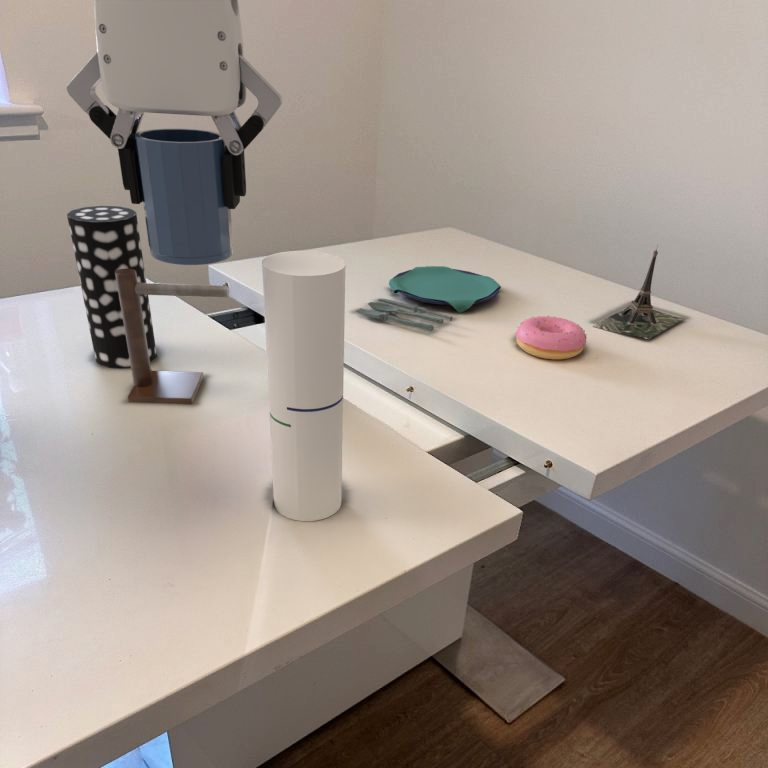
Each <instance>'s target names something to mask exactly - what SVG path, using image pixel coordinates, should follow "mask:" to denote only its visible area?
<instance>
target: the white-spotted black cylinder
mask: <svg viewBox="0 0 768 768" xmlns="http://www.w3.org/2000/svg"><path fill="white" fill-rule="evenodd" d="M66 218H67V223H68V227H69V233H70V238H71V242H72V247H73V252H74V257H75V263H76V267H77V273H78V278H79V283H80V289H81V293H82V298H83V303H84V308H85V313H86V318H87V323H88V329H89V334H90V338H91V344H92V349H93V354H94V359H95V362H96V363H97V364H98V365H100V366H102V367H104V368H110V369H121V370H123V369H124V370H125V369H131V364H130V358H129V352H128V346H127V341H126V335H125V329H124V323H123V317H122V311H121V305H120V299H119V293H118V288H117V282H116V276H115V271H116V270H119V269H134V270H135V271H136V274H137V281H138V282H140V283H147V277H146V270H145V263H144V256H143V249H142V243H141V236H140V229H139V222H138V221H139V220H138V214H137V211H136V210H134V209H132V208H130V207H125V206H117V205H94V206H85V207H79V208H75V209H72V210H70V211H68V212H67V213H66ZM140 301H141V307H142V314H143V320H144V327H145V333H146V340H147V346H148V353H149V359H150V363H152V362H153V361H154V360H156V358H157V355H158V352H157V346H156V340H155V333H154V327H153V325H154V324H153V320H152V312H151V311H152V310H151V306H150V305H151V304H150V299H149V295H140Z"/></svg>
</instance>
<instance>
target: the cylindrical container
mask: <svg viewBox="0 0 768 768" xmlns="http://www.w3.org/2000/svg"><path fill="white" fill-rule="evenodd" d="M261 272H262V291H263V311H264V313H263V314H264V331H265V352H266V373H267V393H268V394H267V395H268V411H269V412H268V415H269V416H268V417H269V433H270V434H269V435H270V451H271V454H270V455H271V472H272V473H271V474H272V493H273V494H272V495H273V506H274V509H275V510H276V511H277V512H278V513H279V514H280V515H281V516H283V517H285V518H287V519H290V520H293V521H297V522H315V521H321V520H324V519H327V518H329V517H332V516H333V515H334V514H336V513H337V512H338V511H339V510H340V508H341V506H342V492H343V489H342V488H343V434H344V432H343V430H344V429H343V428H344V378H345V377H344V373H345V372H344V371H345V370H344V369H345V317H346V316H345V315H346V262H345V260H344V259H343V258H341V257H339V256H337V255H335V254H331V253H327V252H321V251H316V250H315V251H314V250H313V251H312V250H289V251H281V252H275V253H273V254H269V255H267V256H265V257H264V258H263V259H262V261H261Z"/></svg>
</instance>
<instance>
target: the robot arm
mask: <svg viewBox="0 0 768 768" xmlns="http://www.w3.org/2000/svg"><path fill="white" fill-rule="evenodd" d="M239 7H240V6H239V0H93V9H94V10H93V12H94V13H93V14H94V26H95V27H94V28H95V39H96V40H95V41H96V52H95V53H94V54H93V56H92V57H90V59H89V60H88V61H87V62H86V63H85V64H84V65H83V67H82V68H81V69H80V70H79V71H78V72H77V74H76V75H74V77H73V78H72V79H71V80H70V81H69V82H68V83H67V86H66V92H67V94H68V95H69V97H71V99H72V100H74V102H75V103H76V104H77V105H78V106H79V107H80V108H81V110H82V111H83V112H84V113H86V114H87V115H88V117H89V120H90V121H91V122H92V123H93V124H94V125H95V126H96V127H97V128H98V129H99V130H100V131H101V132H102V133H103V134H104V135H105V136H106V137H107V138H108V139H109V140H110V143H111V145H112V146H113V147H114V148H115V149H117V151H118V160H119V166H120V173H121V181H122V185H123V189H124V190H125V191H129V197H130V202H131V204H132V205H140V204H141V203H143V197H142V190H141V182H140V175H139V167H138V160H137V152H136V145H135V138H134V134H136V133H138V132H139V131H140V127H141V124H142V121H143V118H144V114H145V113H149V114H150V113H151V114H166V115H167V114H168V115H181V116H182V115H184V116H201V117H203V116H204V117H211V119H212V121H213V123H214V125H215V127H216V129H217V131H218V133H220V134H221V136H222V138H223V140H224V142H225V144H226V145H225V154H224V155H223V156H222V171H223V184H224V198H225V207H228V209H231V210H236V208H237V207H238V205H239V204H240V202H241V197H245V196H246V194H247V178H246V175H247V174H246V160H245V150H246V149H247V147H249V146H250V144H251V143H252V142H253V141H254V140H255V139H256V138H257V137H258V135H259V134H260V133H261V132H262V131H263V130H264V128H265V127H266V126H267V124H268V123H269V122H270V120H272V118H273V117H274V115H275V114H276V113H277V112H278V111H279V109H280V108H281V106H282V104H283V101H284V100H283V96H282V95H281V94H280V92H279V91H277V90H276V88H275V87H273V85H272V84H271V83H270V82H269V81H267V79H266V78H265V77H264V76H263V75H262V74H261V73H260V72H259V71H258V70H257V69H256V68H255V67H254V66H253V65H252V64H251V63H250V62H249V61H248V60H247V59H246V58H245V52H244V42H243V34H242V33H243V30H242V22H241V13H240V8H239ZM100 83H101V86H102V91H103V94H104V97H105V99H106V100H107V102H108V103H109V104H111V105H112V106H113V107H116V108H117V109H118V110H117V113H115V112H113V110H112V109H110V108H111V107H109V106H107V105H106V104H104V102H102V100H101V98H100V97H99V96H98V94H97V92H96V88H97V86H98V85H99V84H100ZM247 90H248V91H250V93H251V94H252V95H253V96H254V97H255V98H256V99H257V102H258V103H257V107H256V108H255V109H254V111H253V113H252V114H251V115H250V116H249V117H248V119H247V120H246V121H245V122H244V123H243V124H241V122H240V120H239V118H238V116H237V113H236V112H235V111H236V110H237V109H238V108H240V107H242V106H243V105H244V104H245V102H246V100H247Z"/></svg>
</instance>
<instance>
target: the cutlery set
mask: <svg viewBox="0 0 768 768" xmlns="http://www.w3.org/2000/svg"><path fill="white" fill-rule="evenodd" d="M388 286H389V287H390V288H391V290H392V291H393V293H394V294H398V293H399V294H401V295H402V296H405V297H407V298H408V299H412V300H415V301H418V302H422V303H428V304H432V305H442V306H452V307H453V308H454V310H455V311H456V312H457V313H458V314H461V313H464V312H466V311H467V310H468V309H470V308H472V306H473V305H474V304H475V305H476V304H481V303H484V302H487V301H490V300H493V299H495V298H496V296H497V295H498V294H499V293H500V290H501V289H502V286H501V285H500V284H499V283H498V282H497V281H496V280H495V279H494V278H492V277H490V276H489V275H483V274H480V273H475V272H472V271H468V270H462V269H456V268H452V267H449V266H445V265H444V266H443V265H441V266H440V265H437V266H436V265H427V266H415V267H414V268H412V269H408V270H405V271H402V272H399V273H397V274H396V275H395V276H393V277H392V278H390V279H389V281H388ZM377 300H378V301H377V302H376V301H369V302H368V303H367V305H368V306H369V307H370V309H372V310H368V309H364V308H362V307H360V308H359V309H357V310H356V309H355V312H357V313H358V314H361V315H365V316H368V317H371V318H373V319H376V320H379V321H387V320H391V321H394V322H396V323H398V324H400V325H404V326H408V327H411V328H412V327H413V328H418V329H422V330H425V331H428V332H433V331H434V324H430V323H429V324H428V323H426V322H425V323H424V322H418V321H412V320H407V319H402V318H400V317H397V316H395V315H392V314H398V315H403V316H408V317H413V318H417V319H422V320H426V321H429V322H433V323H435V324H437V325H442V324H444V320H445V319H447V320H449V322H452V321H453V315H452V316H450V315H444V314H440V313H439V312H438V313H437V312H435V311H431V310H428V309H427V308H425V307H419V305H415V306H412V305H411V304H406V303H403V302H399V301H395V300H391V299H387V298H378V299H377ZM397 307H399V308H400V307H401V308H403V309H408V310H411V311H413V312H408V311H399V309H398V308H397ZM417 312H418V313H417ZM425 313H426V314H430V315H435V316H438V317H435V316H430V315H424V314H425ZM441 317H442V318H441Z"/></svg>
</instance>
